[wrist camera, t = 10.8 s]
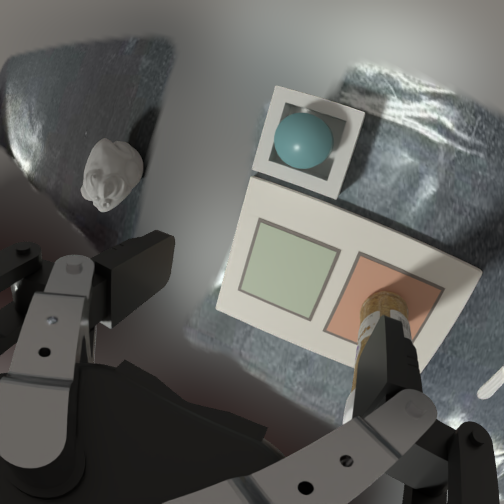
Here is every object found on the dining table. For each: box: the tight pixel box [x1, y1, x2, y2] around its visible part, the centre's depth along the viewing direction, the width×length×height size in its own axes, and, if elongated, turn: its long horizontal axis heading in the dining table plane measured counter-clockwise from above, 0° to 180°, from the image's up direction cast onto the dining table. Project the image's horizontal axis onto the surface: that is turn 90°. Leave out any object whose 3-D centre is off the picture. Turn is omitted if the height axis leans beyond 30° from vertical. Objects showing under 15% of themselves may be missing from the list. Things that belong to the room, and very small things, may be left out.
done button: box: [274, 113, 334, 169], centre depth 22 cm, size 4×4×2 cm
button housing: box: [252, 86, 365, 200], centre depth 24 cm, size 7×7×3 cm
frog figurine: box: [81, 138, 143, 212], centre depth 29 cm, size 6×7×7 cm
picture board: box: [216, 176, 483, 373], centre depth 28 cm, size 22×14×1 cm, turn 74°
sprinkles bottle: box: [343, 291, 412, 424], centre depth 21 cm, size 5×5×13 cm
